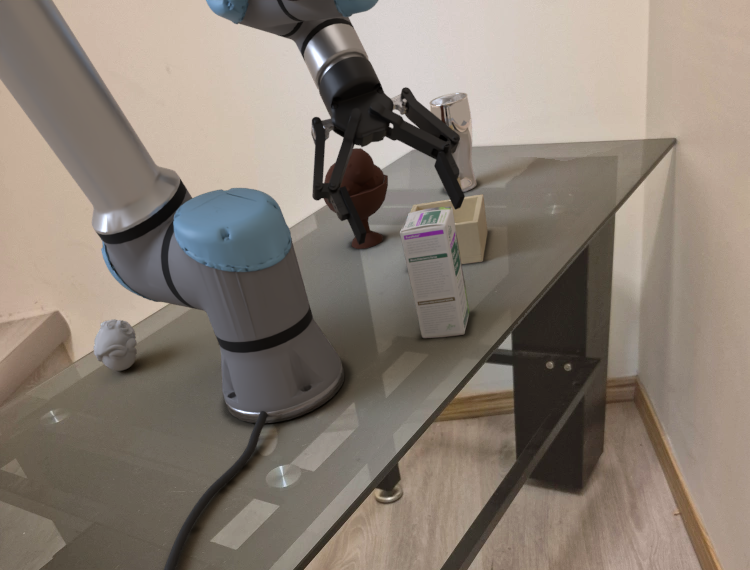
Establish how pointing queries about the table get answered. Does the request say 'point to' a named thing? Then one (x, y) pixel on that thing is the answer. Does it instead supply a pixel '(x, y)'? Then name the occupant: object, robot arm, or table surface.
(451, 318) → the syrup box
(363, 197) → the ice cream bowl
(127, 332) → the frog figurine
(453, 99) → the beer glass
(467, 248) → the basket
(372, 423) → the table surface
